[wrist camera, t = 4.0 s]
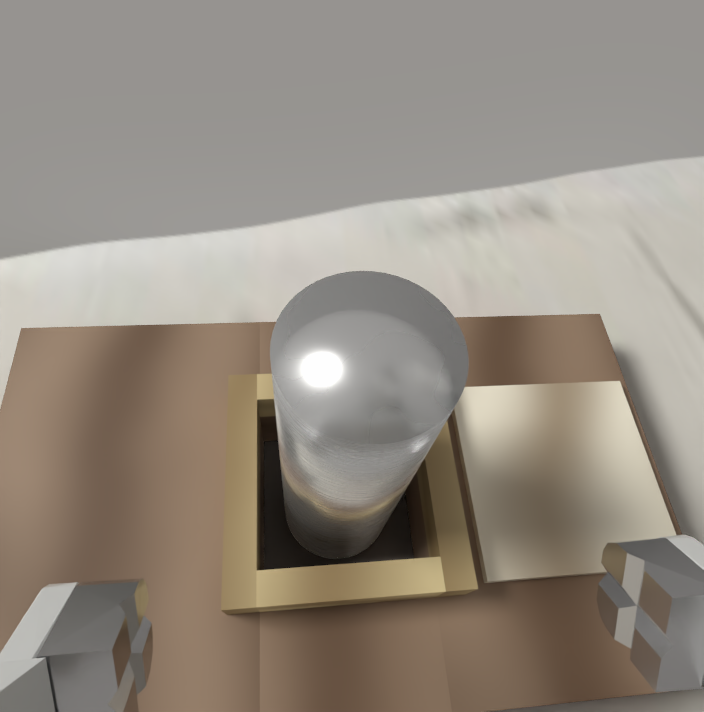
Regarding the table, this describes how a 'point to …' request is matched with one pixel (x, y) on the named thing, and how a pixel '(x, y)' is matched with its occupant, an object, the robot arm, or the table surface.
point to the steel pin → (359, 401)
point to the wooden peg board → (341, 581)
